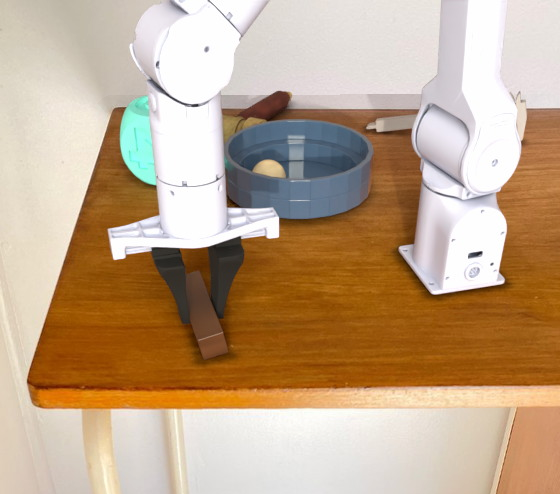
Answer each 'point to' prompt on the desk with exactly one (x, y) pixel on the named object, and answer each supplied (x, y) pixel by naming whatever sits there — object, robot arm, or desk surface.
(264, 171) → the dough ball
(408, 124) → the caliper
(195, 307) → the rectangular block
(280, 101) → the gavel
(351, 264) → the desk surface
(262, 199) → the bowl
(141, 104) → the decorative dice
